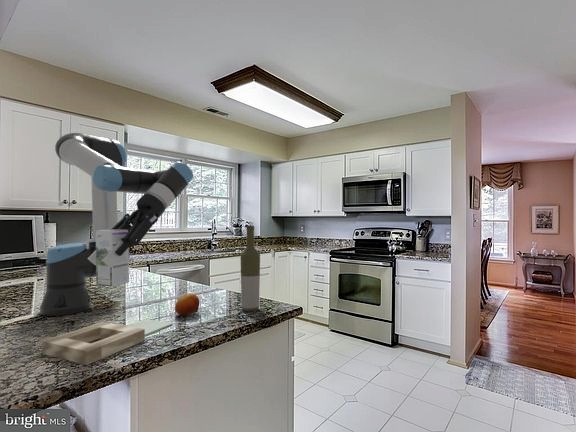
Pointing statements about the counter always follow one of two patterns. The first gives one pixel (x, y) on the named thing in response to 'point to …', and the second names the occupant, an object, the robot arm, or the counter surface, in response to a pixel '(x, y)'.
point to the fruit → (187, 305)
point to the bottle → (250, 274)
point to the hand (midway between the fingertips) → (99, 263)
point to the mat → (150, 325)
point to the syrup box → (103, 246)
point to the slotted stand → (86, 353)
